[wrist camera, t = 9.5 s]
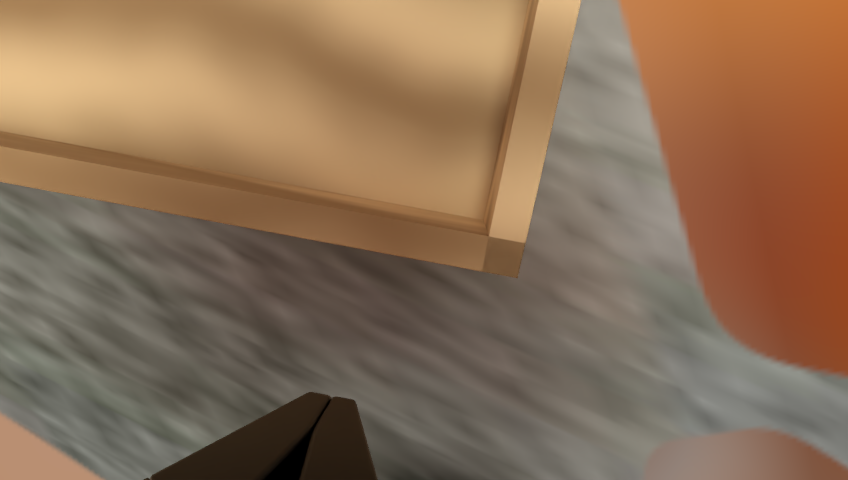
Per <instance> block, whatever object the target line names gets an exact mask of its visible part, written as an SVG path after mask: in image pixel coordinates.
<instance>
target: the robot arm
mask: <svg viewBox="0 0 848 480" xmlns="http://www.w3.org/2000/svg"><path fill="white" fill-rule="evenodd" d="M144 480H378V479H377V476H376V472H375V468H374V465H373V461H372V458H371V454H370V451H369V447H368V444H367V440H366V436H365V433H364V429H363V426H362V422H361V419H360V415H359V412H358V408H357V404H356V402H355V401H354V400H352V399H347V398H341V397H333V398H332V399H331V397H330V396H329V395H325V394H320V393H314V392H309V393H306V394H304V395H302V396H301V397H299V398H297V399H295V400H293V401H291V402H289V403H287V404H285V405H284V406H282V407H280V408H278V409H276V410H274V411H272V412H270V413H268V414H267V415H265V416H263V417H261V418H259V419H257V420H255V421H253V422H252V423H250V424H248V425H246V426H244V427H242V428H240V429H238V430H236V431H235V432H233V433H231V434H229V435H227V436H225V437H223V438H221V439H219V440H218V441H216V442H214V443H212V444H210V445H208V446H206V447H204V448H203V449H201V450H199V451H197V452H195V453H193V454H191V455H189V456H187V457H186V458H184V459H182V460H180V461H178V462H176V463H174V464H172V465H170V466H169V467H167V468H165V469H163V470H161V471H159V472H157V473H155V474H154V475H152V476H151V478H150V479H149V478H146V479H144Z"/></svg>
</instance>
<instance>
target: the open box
mask: <svg viewBox="0 0 848 480" xmlns="http://www.w3.org/2000/svg"><path fill="white" fill-rule="evenodd" d="M580 3H581V0H0V182H5V183H10V184H15V185H21V186H26V187H31V188H37V189H42V190H48V191H53V192H58V193H64V194H69V195H74V196H80V197H85V198H90V199H96V200H101V201H107V202H112V203H117V204H123V205H128V206H133V207H139V208H144V209H149V210H155V211H160V212H166V213H171V214H176V215H182V216H187V217H192V218H198V219H203V220H208V221H214V222H219V223H225V224H230V225H235V226H241V227H246V228H251V229H257V230H262V231H267V232H273V233H278V234H284V235H289V236H294V237H300V238H305V239H310V240H316V241H321V242H326V243H332V244H337V245H343V246H348V247H353V248H359V249H364V250H369V251H375V252H380V253H385V254H391V255H396V256H402V257H407V258H412V259H418V260H423V261H428V262H434V263H439V264H444V265H450V266H455V267H461V268H466V269H471V270H477V271H482V272H487V273H493V274H498V275H504V276H509V277H514V278H517V277H518V273H519V269H520V264H521V260H522V256H523V251H524V247H525V243H526V238H527V234H528V229H529V225H530V221H531V216H532V212H533V208H534V203H535V199H536V195H537V190H538V186H539V182H540V177H541V173H542V169H543V164H544V160H545V155H546V151H547V147H548V142H549V138H550V134H551V129H552V125H553V121H554V116H555V112H556V108H557V103H558V99H559V94H560V90H561V86H562V81H563V77H564V73H565V68H566V64H567V60H568V55H569V51H570V47H571V42H572V38H573V34H574V29H575V25H576V20H577V16H578V12H579V7H580Z"/></svg>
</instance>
